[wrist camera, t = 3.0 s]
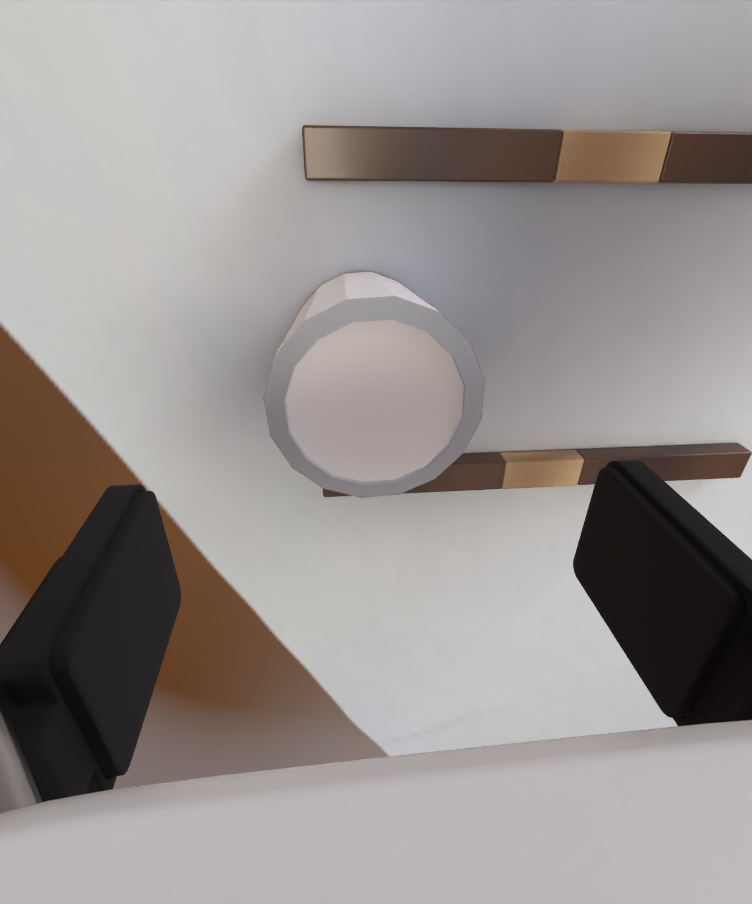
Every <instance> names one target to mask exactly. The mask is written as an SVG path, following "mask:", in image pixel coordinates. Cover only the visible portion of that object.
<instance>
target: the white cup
mask: <svg viewBox="0 0 752 904" xmlns="http://www.w3.org/2000/svg"><path fill="white" fill-rule="evenodd" d="M483 390H484V378H483V375H482V372H481V370H480V367H479V364H478V362H477V359H476V356H475V353H474V351H473V348H472V345H471V343H470V341H469V340H468V339H467V338H466V337H465V336H464V335H463V334H462V333H461V332H460V331H458V330H457V329H456V328H455V327H454V326H453V325H452V324H451V323H450V322H449V321H448V320H447V319H446V318H445V317H444V316H443V315H442V314H441V313H440V312H439V311H438V310H436V309H435V308H433V307H432V306H431V305H429V304H428V303H427V302H425V301H424V300H422V299H421V298H420V297H418V296H417V295H415V294H414V293H413V292H411V291H410V290H409V289H407V288H406V287H404V286H403V285H402V284H400V283H399V282H397V281H396V280H393V279H390V278H387V277H385V276H382V275H379V274H377V273H374V272H357V273H344V274H342V275H340V276H338V277H336V278H334V279H332V280H330V281H328V282H326V283H324V284H322V285H320V286H319V287H318V289H317V290H316V291H315V292H314V294H313V295H312V296H311V297H310V298H309V300H308V301H307V302H306V303H305V304H304V306H303V307H302V309H301V311H300V312H299V314H298V316H297V318H296V319H295V321H294V323H293V325H292V326H291V328H290V330H289V332H288V333H287V335H286V337H285V338H284V340H283V342H282V344H281V345H280V347H279V349H278V351H277V352H276V354H275V356H274V360H273V363H272V367H271V371H270V374H269V378H268V382H267V385H266V389H265V393H264V403H265V408H266V414H267V420H268V425H269V431H270V436H271V437H272V439H273V440H274V442H275V443H276V445H277V446H278V448H279V449H280V451H281V452H282V454H283V455H284V457H285V458H286V459H287V461H288V462H289V464H290V465H291V467H292V468H294V469H295V470H297V471H298V472H300V473H301V474H303V475H304V476H306V477H307V478H309V479H310V480H312V481H313V482H315V483H316V484H318V485H319V486H321V487H322V488H324V489H328V490H332V491H336V492H340V493H344V494H348V495H352V496H357V497H361V498H362V497H373V496H384V495H396V494H401V493H403V492H406V491H408V490H410V489H413V488H415V487H417V486H420V485H422V484H424V483H427V482H429V481H431V480H434V479H435V478H437V477H438V476H439V475H440V474H441V473H442V472H443V471H444V470H445V469H446V468H448V467H449V466H450V465H451V464H452V463H453V462H454V461H455V460H456V459H458V458H459V457H460V456H461V455H462V454H463V453H464V451H465V449H466V447H467V445H468V443H469V442H470V440H471V438H472V436H473V434H474V432H475V430H476V428H477V426H478V424H479V422H480V420H481V415H482V403H483Z"/></svg>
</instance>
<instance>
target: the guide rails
mask: <svg viewBox="0 0 752 904" xmlns="http://www.w3.org/2000/svg"><path fill="white" fill-rule="evenodd" d="M302 134H303V151H304V169H305V179H306V180H315V181H447V182H581V183H712V184H752V133H731V132H669V131H612V130H555V129H496V128H437V127H378V126H319V125H304V126H303V127H302ZM751 454H752V452H751V451H749V450H748V449H746V448H745V447H743V446H742V445H740V444H738V443H734V444H709V445H685V446H660V447H635V448H610V449H585V450H553V451H528V452H503V453H482V454H462V455H461V456H460V457H459V458H458V459H456V460H455V461H454V462H453V463H452V464H451V465H450V466H449V467H448V468H446V469H445V470H444V471H443V472H442V473H441V474H440V475H439V476H438V477H437V478H435V479H434V480H431V481H429V482H427V483H424V484H422V485H420V486H417V487H415V488H413V489H410V490H408V491H406V492H403V493H420V492H442V491H463V490H485V489H501V488H502V489H510V488H531V487H553V486H574V485H577V484H578V485H589V484H595V483H596V480H597V476H598V473H599V471H600V470H601V469H602V468H605V467H606V465H607V464H608V463H609V462H610V461H616V460H640V461H642V462H643V463H644V464H645V465H647V466H648V467H649V468H650V469H651V470H652V471H653V472H654V473H656V474H657V475H658V476H659V477H660V478H661V479H662V480H663V481H675V480H697V479H718V478H739V477H741V475H742V473H743V471H744V468H745V466H746V464H747V462H748V460H749V458H750V456H751ZM323 496H324V497H334V496H352V495H348V494H344V493H340V492H336V491H332V490H328V489H324V488H323Z"/></svg>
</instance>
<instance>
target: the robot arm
mask: <svg viewBox="0 0 752 904" xmlns="http://www.w3.org/2000/svg"><path fill="white" fill-rule="evenodd" d="M573 568H574V572H575V575H576V577H577V579H578V580H579V582H580V583H581V585H582V587H583V588H584V590H585V591H586V593H587V594H588V596H589V597H590V599H591V601H592V602H593V604H594V605H595V607H596V608H597V610H598V612H599V613H600V615H601V616H602V618H603V619H604V621H605V623H606V624H607V626H608V627H609V629H610V630H611V632H612V634H613V635H614V637H615V638H616V640H617V641H618V643H619V645H620V646H621V648H622V649H623V651H624V652H625V654H626V656H627V657H628V659H629V660H630V662H631V663H632V665H633V666H634V668H635V670H636V671H637V673H638V674H639V676H640V677H641V679H642V681H643V682H644V684H645V685H646V687H647V688H648V690H649V692H650V693H651V695H652V696H653V698H654V699H655V701H656V703H657V704H658V706H659V707H660V709H661V710H662V711H663V713H664V714H666V715H667V716H668V717H671V718H673V719H674V720H675V722H676V724H677V725H678V727H668V728H658V729H648V730H639V731H629V732H619V733H609V734H599V735H589V736H579V737H569V738H560V739H550V740H541V741H531V742H522V743H512V744H503V745H493V746H484V747H474V748H465V749H456V750H447V751H437V752H428V753H419V754H409V755H400V756H391V757H382V758H373V759H364V760H355V761H346V762H337V763H328V764H319V765H310V766H301V767H292V768H283V769H275V770H266V771H257V772H249V773H239V774H230V775H222V776H214V777H205V778H198V779H190V780H183V781H175V782H167V783H160V784H152V785H144V786H136V787H128V788H121V789H113V786H114V783H115V780H116V777H117V776H120V775H124V774H125V773H126V772H127V770H128V768H129V766H130V763H131V760H132V756H133V753H134V750H135V747H136V744H137V741H138V738H139V734H140V731H141V728H142V724H143V722H144V718H145V715H146V712H147V709H148V706H149V702H150V699H151V696H152V693H153V690H154V687H155V683H156V680H157V677H158V673H159V671H160V667H161V664H162V661H163V658H164V655H165V651H166V648H167V645H168V642H169V639H170V635H171V632H172V629H173V626H174V623H175V620H176V617H177V613H178V610H179V607H180V602H181V589H180V585H179V581H178V577H177V574H176V570H175V566H174V562H173V559H172V555H171V551H170V548H169V544H168V540H167V537H166V533H165V529H164V526H163V522H162V518H161V514H160V511H159V507H158V503H157V500H156V496H155V494H154V493H153V492H152V491H146V490H145V488H144V487H143V486H142V485H140V484H138V485H118V486H110V487H108V488H107V489H106V491H105V492H104V494H103V495H102V497H101V498H100V500H99V502H98V503H97V504H96V506H95V508H94V509H93V511H92V512H91V514H90V515H89V517H88V518H87V520H86V521H85V523H84V524H83V526H82V527H81V529H80V530H79V532H78V533H77V535H76V536H75V538H74V539H73V541H72V542H71V544H70V546H69V547H68V548H67V550H66V551H65V553H64V555H63V556H62V557H60V558H59V559H58V560H57V561H56V563H54V565H53V566H52V568H51V569H50V571H49V572H48V574H47V575H46V577H45V578H44V580H43V581H42V583H41V584H40V586H39V587H38V589H37V590H36V592H35V593H34V595H33V596H32V598H31V599H30V601H29V602H28V604H27V605H26V607H25V608H24V610H23V611H22V613H21V614H20V616H19V617H18V619H17V620H16V622H15V623H14V625H13V626H12V628H11V629H10V631H9V632H8V634H7V635H6V637H5V638H4V640H3V641H2V643H1V645H0V904H752V560H751V559H750V558H749V557H748V556H747V555H746V554H745V553H744V552H743V551H741V550H740V549H739V548H738V547H737V546H736V545H735V544H734V543H732V542H731V541H730V540H729V539H728V538H727V537H726V536H725V535H724V534H722V533H721V532H720V531H719V530H718V529H717V528H716V527H715V526H714V525H712V524H711V523H710V522H709V521H708V520H707V519H706V518H705V517H703V516H702V515H701V514H700V513H699V512H698V511H697V510H696V509H695V508H693V507H692V506H691V505H690V504H689V503H688V502H687V501H686V500H685V499H683V498H682V497H681V496H680V495H679V494H678V493H677V492H676V491H674V490H673V489H672V488H671V487H670V486H669V485H668V484H667V483H666V482H664V481H663V480H662V479H661V478H660V477H659V476H658V475H657V474H656V473H654V472H653V471H652V470H651V469H650V468H649V467H648V466H647V465H645V464H644V463H643V462H642V461H640V460H616V461H610V462H609V463H608V464H607V465H606V467H605V468H602V469H601V470H600V471H599V473H598V476H597V480H596V483H595V487H594V490H593V494H592V497H591V501H590V504H589V508H588V511H587V515H586V518H585V522H584V525H583V529H582V532H581V536H580V539H579V543H578V546H577V550H576V553H575V557H574V561H573ZM112 789H113V790H112Z"/></svg>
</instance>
